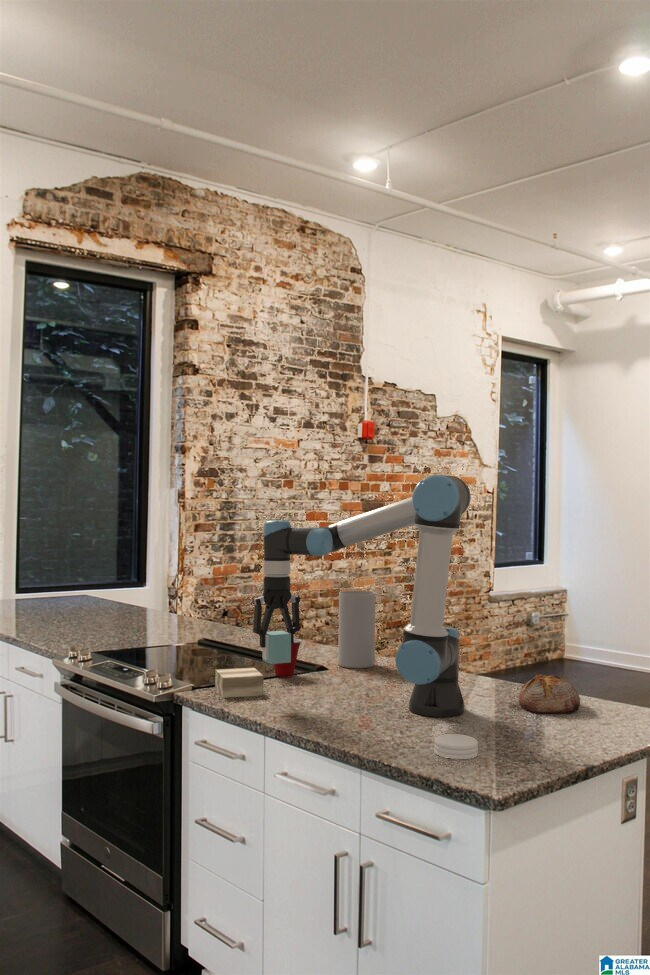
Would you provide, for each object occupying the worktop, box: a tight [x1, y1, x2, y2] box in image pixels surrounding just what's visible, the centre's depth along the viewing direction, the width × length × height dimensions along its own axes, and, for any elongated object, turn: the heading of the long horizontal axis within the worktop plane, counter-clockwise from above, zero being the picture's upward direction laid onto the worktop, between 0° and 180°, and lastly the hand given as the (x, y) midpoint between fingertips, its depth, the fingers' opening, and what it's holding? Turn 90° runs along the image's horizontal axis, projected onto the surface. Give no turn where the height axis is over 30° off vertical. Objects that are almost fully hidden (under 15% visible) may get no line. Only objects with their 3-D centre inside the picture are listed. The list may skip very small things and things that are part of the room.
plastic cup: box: [273, 638, 303, 678], centre depth 284 cm, size 11×11×12 cm
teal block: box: [262, 630, 291, 665], centre depth 246 cm, size 6×6×8 cm
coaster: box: [433, 733, 479, 760], centre depth 202 cm, size 10×10×4 cm
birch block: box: [214, 667, 265, 699], centre depth 260 cm, size 12×12×6 cm
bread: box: [518, 673, 581, 714], centre depth 247 cm, size 16×20×10 cm
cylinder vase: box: [337, 590, 376, 669], centre depth 302 cm, size 12×12×25 cm
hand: (276, 657), depth 246 cm, fingers closed on teal block, 6 cm apart
